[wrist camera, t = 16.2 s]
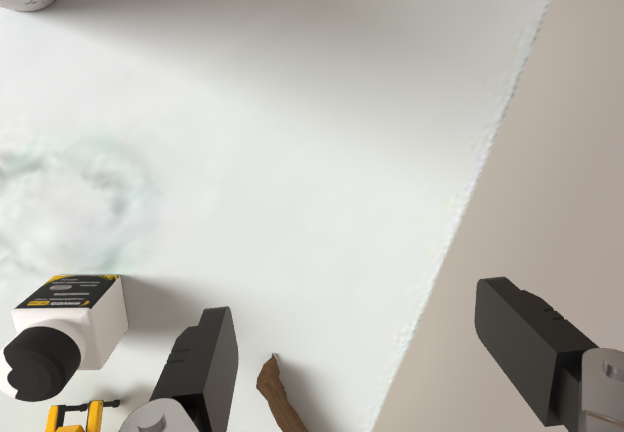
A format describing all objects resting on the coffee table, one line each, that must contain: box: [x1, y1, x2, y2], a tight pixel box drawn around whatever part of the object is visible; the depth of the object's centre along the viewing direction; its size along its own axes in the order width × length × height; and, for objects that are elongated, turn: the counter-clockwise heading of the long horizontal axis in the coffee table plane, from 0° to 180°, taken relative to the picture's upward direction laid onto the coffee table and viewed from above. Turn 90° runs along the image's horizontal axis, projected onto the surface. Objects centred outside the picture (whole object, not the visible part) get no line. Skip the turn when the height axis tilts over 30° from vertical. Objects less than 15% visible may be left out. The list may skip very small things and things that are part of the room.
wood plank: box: [256, 353, 308, 432], centre depth 47 cm, size 15×2×5 cm, turn 24°
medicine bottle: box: [0, 275, 128, 402], centre depth 37 cm, size 7×7×12 cm
